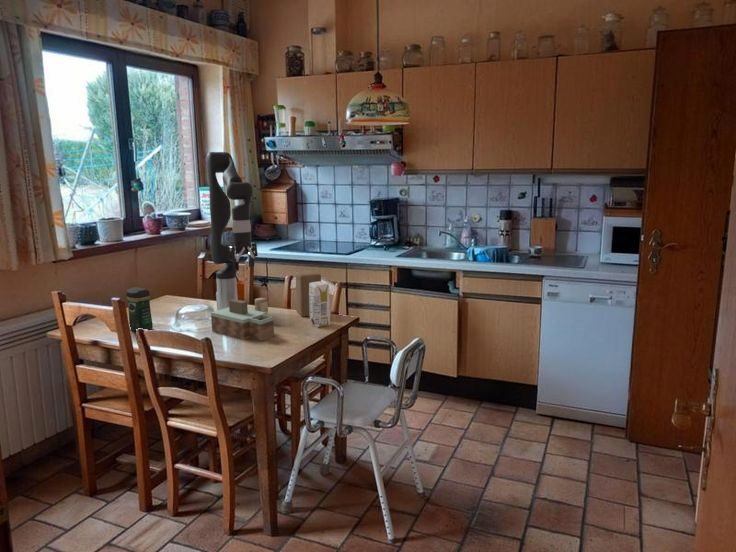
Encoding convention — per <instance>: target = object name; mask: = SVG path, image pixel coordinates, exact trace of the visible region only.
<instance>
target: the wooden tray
mask: <svg viewBox="0 0 736 552" xmlns="http://www.w3.org/2000/svg"><path fill="white" fill-rule="evenodd" d="M210 318H211V319H210V320H211V332H212V333H216V334H220V335H224V336H227V335H228V337H231V336H232V337H231V338H236V339H240V340H244V341H245V340H248V339H253V340H256V341H261V342H264V341H265V340H269V339H271V338H274V337H275V331H274V329H275V328H274V327H275V325H274V323H275V322H274V320H273V321H270V322H267V323H264V324H257V323H252V322H246V323H240V322H235V321H231V320H227V319H223V318H218V317H214V316H211V315H210ZM257 320H264V319H263V318H260V319H257Z"/></svg>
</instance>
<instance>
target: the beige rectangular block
mask: <svg viewBox="0 0 736 552" xmlns="http://www.w3.org/2000/svg"><path fill="white" fill-rule="evenodd" d="M268 300H269V299H268V298H265V297H259V298H255V299H254V310H256V311H261V312H265V313H266V315H267V316H269V307H268V306H269V303H268V302H269V301H268Z"/></svg>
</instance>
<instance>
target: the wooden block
mask: <svg viewBox="0 0 736 552" xmlns="http://www.w3.org/2000/svg"><path fill="white" fill-rule="evenodd" d="M319 281H322V274H321V273H319V272H318V271H317V270H305V271H302V270H301V271H296V272H295V290H296V291H295V292H296V293H295V296H296V297H295V300H296V313H297V314H298V315H300V316H301V317H302V318H306V317H305V316H308V317H310V310H309V283H312V282H319Z"/></svg>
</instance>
